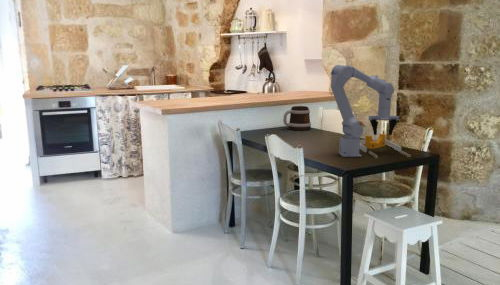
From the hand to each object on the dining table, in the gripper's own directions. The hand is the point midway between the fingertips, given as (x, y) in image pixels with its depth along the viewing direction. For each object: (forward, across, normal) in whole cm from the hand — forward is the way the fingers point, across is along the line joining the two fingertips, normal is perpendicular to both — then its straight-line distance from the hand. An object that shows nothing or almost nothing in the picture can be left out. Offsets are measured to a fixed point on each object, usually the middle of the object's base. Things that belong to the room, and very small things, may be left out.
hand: (382, 134), depth 214 cm
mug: (+10, -30, +75) cm, 81 cm away
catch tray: (+9, +2, +12) cm, 15 cm away
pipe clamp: (+10, +3, +15) cm, 18 cm away
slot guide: (+9, +2, -6) cm, 11 cm away
